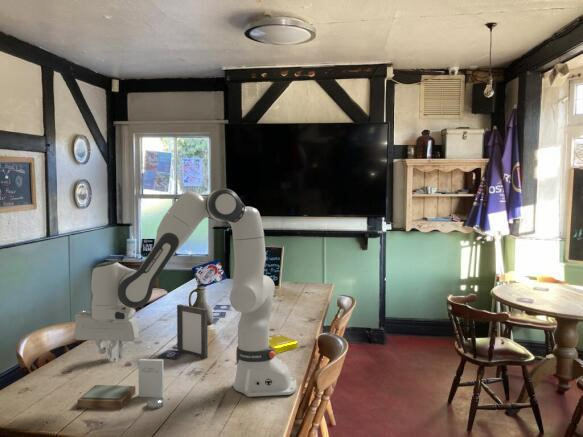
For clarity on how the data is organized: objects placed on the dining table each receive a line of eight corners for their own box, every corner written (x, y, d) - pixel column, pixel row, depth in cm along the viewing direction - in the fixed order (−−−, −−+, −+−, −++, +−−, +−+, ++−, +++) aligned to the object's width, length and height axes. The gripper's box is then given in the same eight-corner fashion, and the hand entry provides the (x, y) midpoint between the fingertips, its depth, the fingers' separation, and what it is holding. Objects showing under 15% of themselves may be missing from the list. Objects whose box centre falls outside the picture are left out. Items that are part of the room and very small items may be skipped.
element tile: (271, 358, 201) (272, 346, 201) (251, 349, 212) (251, 338, 212) (299, 351, 210) (299, 340, 210) (278, 342, 222) (278, 332, 222)
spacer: (165, 403, 156) (165, 397, 156) (160, 410, 151) (160, 404, 151) (150, 403, 156) (150, 397, 156) (144, 409, 151) (144, 403, 151)
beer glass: (127, 361, 195) (127, 325, 194) (111, 366, 189) (110, 328, 189) (119, 357, 199) (118, 321, 199) (103, 361, 194) (102, 325, 194)
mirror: (135, 393, 163) (135, 384, 163) (120, 409, 151) (120, 399, 151) (95, 392, 164) (95, 383, 164) (77, 407, 152) (77, 398, 152)
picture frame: (177, 353, 204) (177, 305, 203) (180, 352, 206) (180, 304, 205) (204, 361, 196) (204, 310, 195) (208, 359, 197) (208, 309, 196)
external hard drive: (140, 395, 162) (139, 358, 162) (164, 395, 162) (163, 359, 161) (138, 397, 161) (138, 360, 160) (162, 397, 160) (162, 361, 159)
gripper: (70, 313, 154) (70, 355, 155) (132, 314, 153) (132, 357, 153) (80, 308, 160) (80, 349, 161) (140, 309, 159) (140, 351, 160)
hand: (106, 353), depth 157 cm, fingers closed
